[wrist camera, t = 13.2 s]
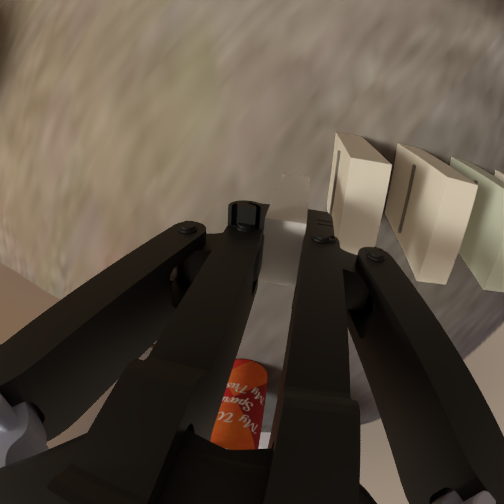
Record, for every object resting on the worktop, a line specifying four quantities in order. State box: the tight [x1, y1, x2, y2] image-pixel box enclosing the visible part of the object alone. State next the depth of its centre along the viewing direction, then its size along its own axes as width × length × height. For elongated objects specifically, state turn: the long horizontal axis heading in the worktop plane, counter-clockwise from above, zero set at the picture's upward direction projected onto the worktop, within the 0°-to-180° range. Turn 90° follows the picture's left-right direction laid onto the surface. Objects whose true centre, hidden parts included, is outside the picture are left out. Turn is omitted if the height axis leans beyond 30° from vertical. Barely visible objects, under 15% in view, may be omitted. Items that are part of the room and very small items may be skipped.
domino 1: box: [327, 132, 392, 255], centre depth 19 cm, size 6×2×10 cm, turn 177°
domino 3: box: [450, 157, 504, 292], centre depth 17 cm, size 6×2×10 cm, turn 177°
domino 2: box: [385, 143, 478, 285], centre depth 18 cm, size 6×2×10 cm, turn 177°
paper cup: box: [210, 359, 268, 450], centre depth 31 cm, size 8×8×14 cm
